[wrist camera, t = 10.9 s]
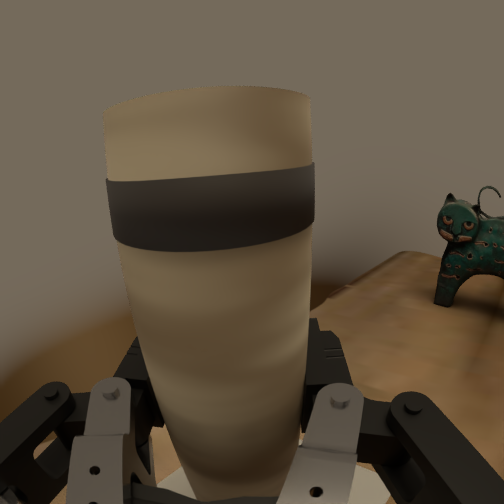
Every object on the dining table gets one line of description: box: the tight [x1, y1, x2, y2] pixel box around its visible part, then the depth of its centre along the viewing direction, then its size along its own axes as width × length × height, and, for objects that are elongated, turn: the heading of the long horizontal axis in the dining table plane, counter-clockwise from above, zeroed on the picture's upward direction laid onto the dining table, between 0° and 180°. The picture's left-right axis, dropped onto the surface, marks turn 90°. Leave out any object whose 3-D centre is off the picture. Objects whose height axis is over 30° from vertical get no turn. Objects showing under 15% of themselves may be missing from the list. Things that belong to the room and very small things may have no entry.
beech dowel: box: [103, 86, 315, 502], centre depth 10 cm, size 5×5×20 cm
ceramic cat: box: [434, 186, 504, 307], centre depth 38 cm, size 20×6×20 cm, turn 48°
